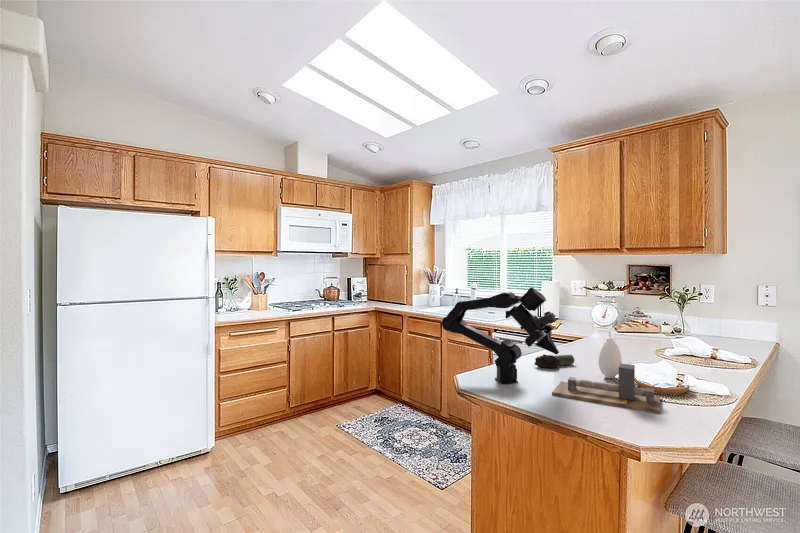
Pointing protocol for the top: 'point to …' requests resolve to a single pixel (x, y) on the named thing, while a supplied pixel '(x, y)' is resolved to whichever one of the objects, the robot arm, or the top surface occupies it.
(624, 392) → the grey upright block
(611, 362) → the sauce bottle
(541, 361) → the dark elongated piece
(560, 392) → the pipe board
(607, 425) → the top surface
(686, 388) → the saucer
